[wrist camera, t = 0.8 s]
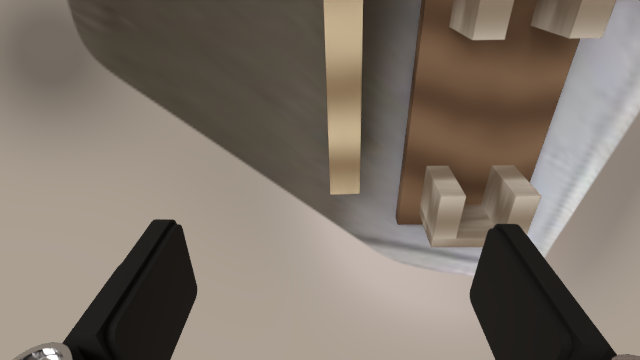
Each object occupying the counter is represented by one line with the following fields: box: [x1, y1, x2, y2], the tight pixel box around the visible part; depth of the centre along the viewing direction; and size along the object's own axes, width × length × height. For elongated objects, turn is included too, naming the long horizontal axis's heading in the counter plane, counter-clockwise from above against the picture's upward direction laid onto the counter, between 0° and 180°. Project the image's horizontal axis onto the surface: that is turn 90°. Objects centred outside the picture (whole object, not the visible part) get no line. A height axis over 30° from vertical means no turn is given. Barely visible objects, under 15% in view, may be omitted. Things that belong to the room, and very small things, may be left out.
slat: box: [324, 0, 363, 194], centre depth 27 cm, size 18×2×6 cm, turn 2°
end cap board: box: [396, 0, 616, 247], centre depth 28 cm, size 26×12×6 cm, turn 1°
